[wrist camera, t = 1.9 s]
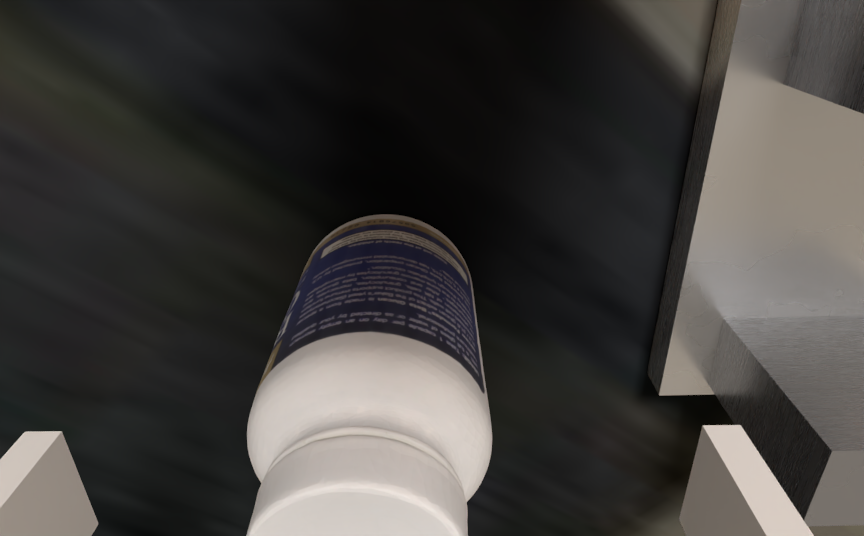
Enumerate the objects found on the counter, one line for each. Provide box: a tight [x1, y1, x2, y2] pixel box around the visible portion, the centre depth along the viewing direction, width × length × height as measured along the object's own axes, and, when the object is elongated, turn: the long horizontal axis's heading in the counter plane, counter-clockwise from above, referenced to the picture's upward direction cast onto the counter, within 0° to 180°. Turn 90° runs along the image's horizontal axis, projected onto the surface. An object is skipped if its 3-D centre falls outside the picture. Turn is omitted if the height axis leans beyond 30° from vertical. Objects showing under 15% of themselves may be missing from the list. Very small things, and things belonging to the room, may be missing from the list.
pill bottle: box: [247, 214, 492, 536], centre depth 15 cm, size 5×5×10 cm
